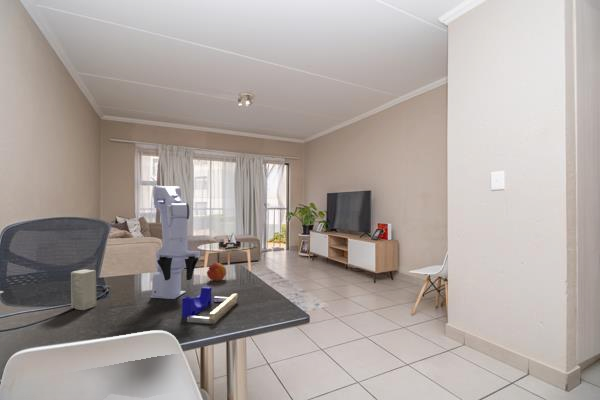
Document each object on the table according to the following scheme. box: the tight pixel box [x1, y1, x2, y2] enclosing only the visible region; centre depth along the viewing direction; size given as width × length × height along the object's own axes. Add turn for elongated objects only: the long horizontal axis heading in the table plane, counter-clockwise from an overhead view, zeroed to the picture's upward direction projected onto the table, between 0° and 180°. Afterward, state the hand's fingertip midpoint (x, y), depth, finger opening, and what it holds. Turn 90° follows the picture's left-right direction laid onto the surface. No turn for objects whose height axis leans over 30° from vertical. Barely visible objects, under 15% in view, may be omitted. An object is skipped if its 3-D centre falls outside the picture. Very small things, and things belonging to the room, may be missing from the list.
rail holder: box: [186, 293, 239, 325], centre depth 91 cm, size 8×18×3 cm, turn 171°
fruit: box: [206, 262, 227, 282], centre depth 126 cm, size 8×8×8 cm
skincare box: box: [70, 268, 97, 311], centre depth 93 cm, size 6×4×12 cm
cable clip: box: [181, 286, 212, 318], centre depth 92 cm, size 12×4×6 cm, turn 168°
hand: (178, 279), depth 93 cm, fingers open, 7 cm apart
